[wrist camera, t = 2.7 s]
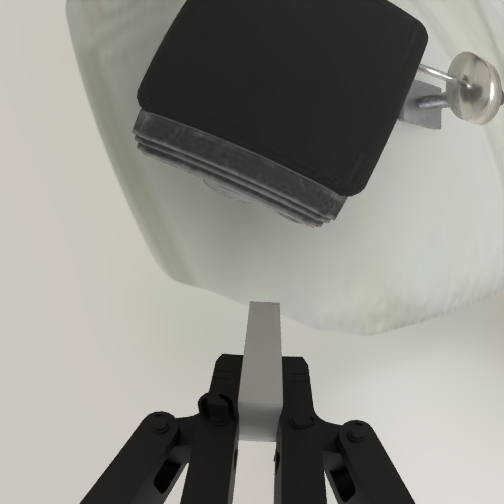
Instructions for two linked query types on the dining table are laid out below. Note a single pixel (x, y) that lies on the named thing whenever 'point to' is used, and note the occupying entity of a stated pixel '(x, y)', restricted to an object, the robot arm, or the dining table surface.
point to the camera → (280, 98)
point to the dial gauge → (455, 93)
